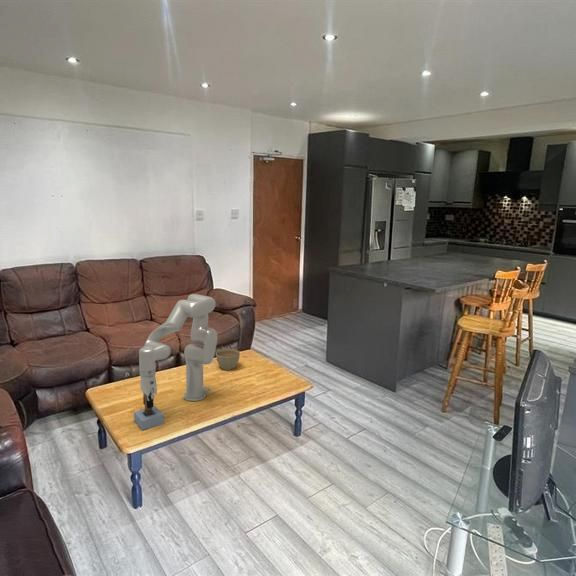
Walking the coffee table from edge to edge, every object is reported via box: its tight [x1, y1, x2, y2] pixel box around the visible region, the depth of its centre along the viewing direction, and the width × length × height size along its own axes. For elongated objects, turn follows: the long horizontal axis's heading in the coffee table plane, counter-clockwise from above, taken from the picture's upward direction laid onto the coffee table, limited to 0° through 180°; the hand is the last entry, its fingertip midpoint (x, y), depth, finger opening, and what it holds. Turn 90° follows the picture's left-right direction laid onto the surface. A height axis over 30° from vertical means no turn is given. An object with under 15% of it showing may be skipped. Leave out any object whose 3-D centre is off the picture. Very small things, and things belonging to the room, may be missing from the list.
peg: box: [144, 393, 152, 414], centre depth 207 cm, size 4×4×12 cm
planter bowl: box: [215, 348, 241, 371], centre depth 281 cm, size 16×16×11 cm
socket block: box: [133, 405, 165, 431], centre depth 209 cm, size 11×11×5 cm
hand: (148, 405), depth 208 cm, fingers closed on peg, 3 cm apart
